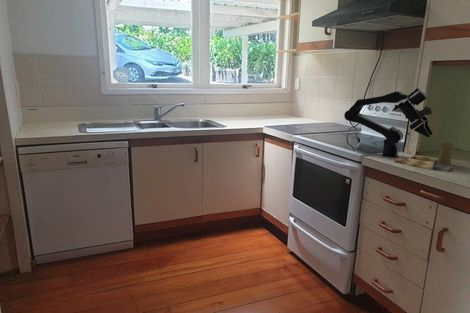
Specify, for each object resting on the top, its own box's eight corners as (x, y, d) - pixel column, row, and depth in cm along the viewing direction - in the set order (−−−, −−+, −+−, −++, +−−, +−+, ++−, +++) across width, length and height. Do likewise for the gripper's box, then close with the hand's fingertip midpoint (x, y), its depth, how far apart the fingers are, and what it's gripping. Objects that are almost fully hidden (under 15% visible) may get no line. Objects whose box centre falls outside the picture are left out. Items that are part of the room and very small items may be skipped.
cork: (437, 161, 173) (441, 140, 170) (451, 163, 169) (455, 141, 166) (435, 163, 168) (439, 141, 165) (449, 166, 164) (453, 143, 162)
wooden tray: (393, 162, 168) (394, 156, 167) (400, 158, 176) (401, 153, 175) (447, 172, 154) (448, 165, 153) (451, 167, 162) (452, 161, 161)
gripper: (420, 101, 161) (443, 127, 158) (426, 99, 176) (447, 123, 172) (400, 116, 168) (421, 142, 164) (407, 113, 182) (427, 136, 179)
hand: (430, 135), depth 170 cm, fingers open, 9 cm apart
